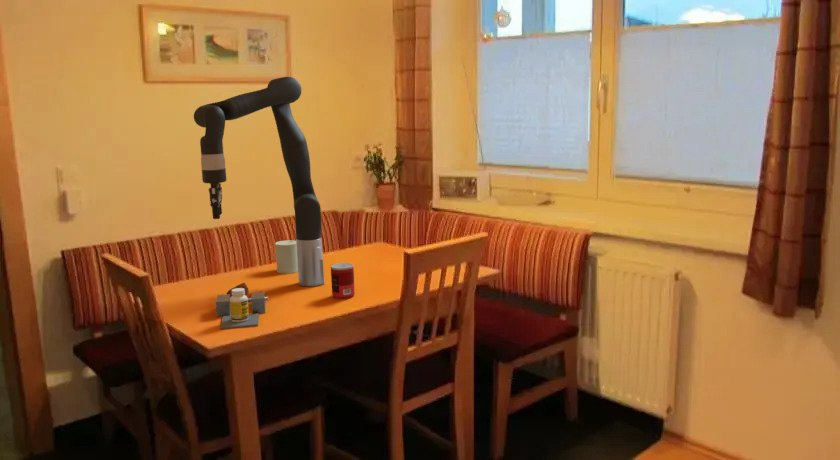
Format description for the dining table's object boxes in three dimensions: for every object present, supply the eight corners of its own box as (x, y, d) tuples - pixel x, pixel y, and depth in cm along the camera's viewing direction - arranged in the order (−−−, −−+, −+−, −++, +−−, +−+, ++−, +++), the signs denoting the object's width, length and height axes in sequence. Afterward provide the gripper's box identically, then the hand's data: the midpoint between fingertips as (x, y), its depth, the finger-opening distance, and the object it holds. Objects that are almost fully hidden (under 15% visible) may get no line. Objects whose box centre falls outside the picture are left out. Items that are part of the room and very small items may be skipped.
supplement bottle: (244, 323, 216) (242, 292, 214) (228, 322, 217) (225, 291, 215) (251, 317, 221) (249, 287, 219) (235, 316, 222) (233, 286, 220)
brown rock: (238, 303, 238) (237, 289, 238) (222, 301, 241) (221, 287, 240) (252, 296, 246) (251, 282, 245) (236, 295, 248) (235, 281, 248)
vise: (268, 303, 237) (267, 289, 236) (268, 312, 227) (267, 298, 226) (216, 308, 234) (215, 293, 233) (213, 317, 224) (212, 302, 223)
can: (304, 269, 282) (303, 240, 280) (289, 274, 274) (287, 244, 272) (287, 266, 287) (285, 238, 284) (271, 272, 279) (269, 242, 277)
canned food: (358, 293, 246) (357, 263, 244) (348, 300, 239) (347, 268, 237) (338, 292, 249) (337, 262, 246) (328, 298, 241) (326, 267, 239)
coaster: (258, 315, 225) (258, 313, 225) (257, 325, 215) (257, 324, 214) (223, 318, 223) (223, 316, 223) (220, 329, 212) (220, 327, 212)
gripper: (223, 169, 223) (227, 219, 226) (226, 165, 236) (230, 212, 240) (199, 170, 221) (203, 221, 224) (203, 166, 235) (207, 213, 238)
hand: (217, 216), depth 232 cm, fingers open, 8 cm apart
